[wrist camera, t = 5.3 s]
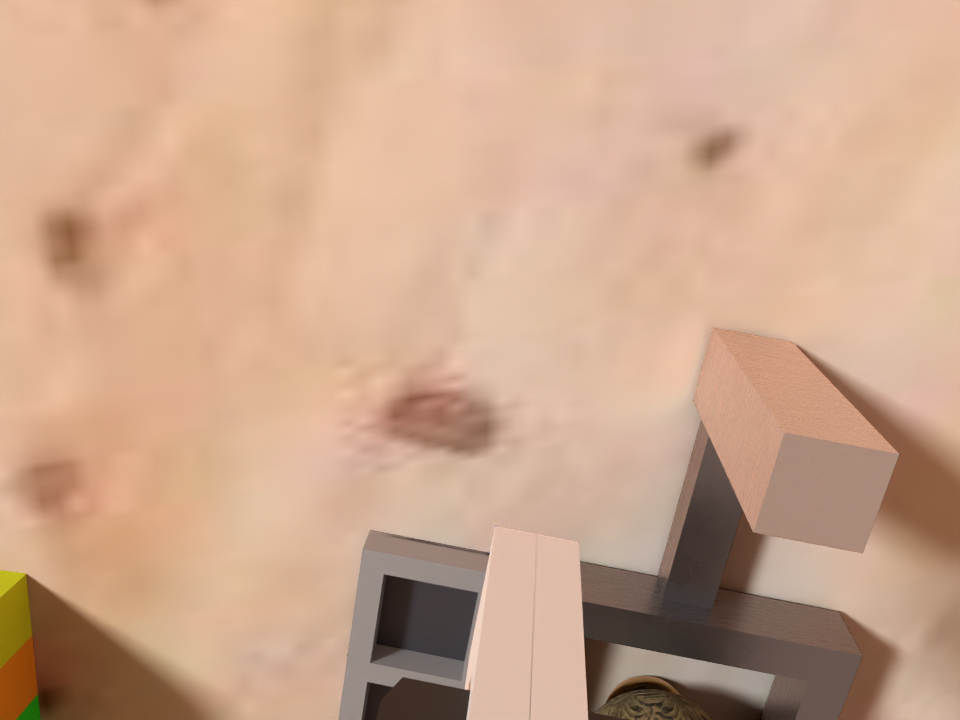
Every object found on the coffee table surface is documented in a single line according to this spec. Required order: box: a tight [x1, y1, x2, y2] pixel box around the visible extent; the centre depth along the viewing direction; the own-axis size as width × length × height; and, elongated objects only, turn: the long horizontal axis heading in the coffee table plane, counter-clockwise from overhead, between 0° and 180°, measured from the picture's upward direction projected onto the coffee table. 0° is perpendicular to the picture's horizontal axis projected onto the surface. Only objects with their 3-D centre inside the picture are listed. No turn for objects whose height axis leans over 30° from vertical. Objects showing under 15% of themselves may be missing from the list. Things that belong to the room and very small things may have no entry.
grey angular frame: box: [580, 327, 899, 720], centre depth 30 cm, size 24×13×10 cm, turn 170°
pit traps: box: [339, 530, 490, 720], centre depth 36 cm, size 12×6×2 cm, turn 170°
